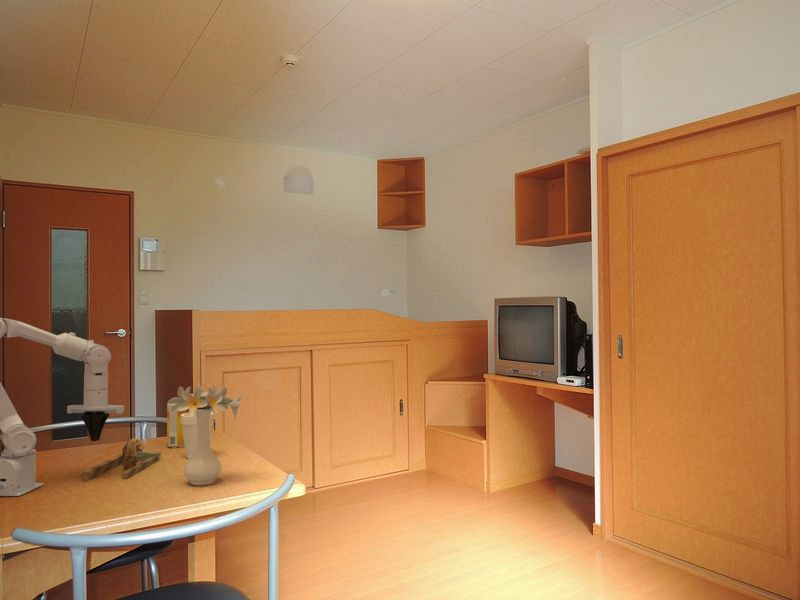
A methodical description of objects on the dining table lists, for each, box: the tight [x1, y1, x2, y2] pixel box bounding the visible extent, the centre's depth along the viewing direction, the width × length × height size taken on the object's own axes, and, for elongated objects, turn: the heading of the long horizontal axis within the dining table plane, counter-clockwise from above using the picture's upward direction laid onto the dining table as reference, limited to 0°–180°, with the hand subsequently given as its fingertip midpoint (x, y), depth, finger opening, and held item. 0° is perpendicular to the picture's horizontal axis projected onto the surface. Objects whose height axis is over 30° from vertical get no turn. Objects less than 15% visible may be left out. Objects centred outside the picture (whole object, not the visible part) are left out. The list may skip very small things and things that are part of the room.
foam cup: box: [181, 411, 215, 459], centre depth 179 cm, size 10×9×13 cm
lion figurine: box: [121, 437, 145, 472], centre depth 168 cm, size 15×5×9 cm, turn 33°
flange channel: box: [81, 450, 162, 482], centre depth 165 cm, size 22×11×2 cm, turn 178°
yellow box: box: [166, 403, 188, 448], centre depth 193 cm, size 6×6×15 cm
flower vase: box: [167, 384, 244, 486], centre depth 153 cm, size 13×18×25 cm
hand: (95, 440), depth 157 cm, fingers closed
